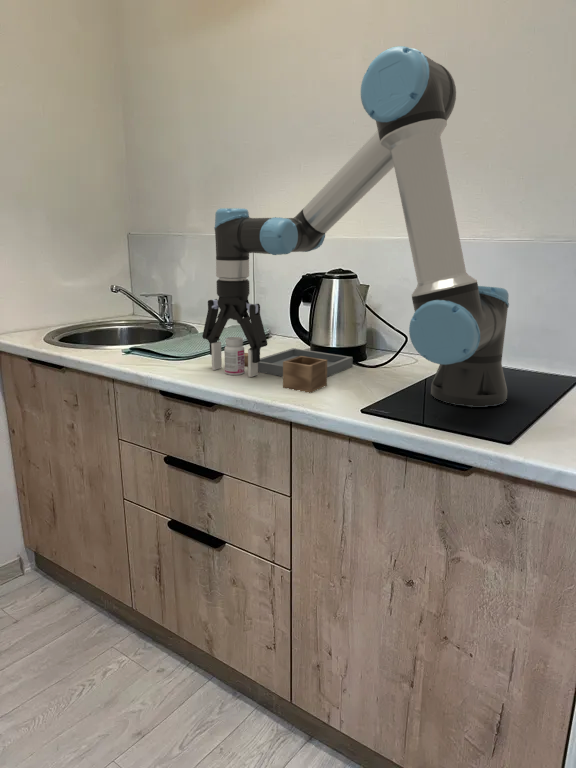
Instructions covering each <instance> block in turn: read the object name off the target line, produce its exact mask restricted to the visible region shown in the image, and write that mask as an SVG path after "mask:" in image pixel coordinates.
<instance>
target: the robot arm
mask: <svg viewBox="0 0 576 768" xmlns="http://www.w3.org/2000/svg"><path fill="white" fill-rule="evenodd" d="M456 100H457V89H456V83H455V80H454V78H453V76H452V74H451V72H450V71H449V70H448V69H447V68H446V67H445V66H443V64H440V63H438V62H436V61H435V60H433V59H431V58H430V57H428V56H427V55H425V54H424V53H423V52H421V51H420V50H419V49H417V48H414V47H413V48H412V47H408V46H403V45H398V46H393V47H390V48H388V49H385V50H384V51H382V52H380V53H379V54H378V55H377V56H376V57H375V58H374V59H373V60H372V61H371V62H370V64H369V66H368V67H367V70H366V72H365V73H364V74H363V77H362V81H361V84H360V101H361V104H362V106H363V109H364V110H365V113H367V115H368V116H369V118H371V119H372V120H374V121H375V124H376V128H377V130H376V132H374V133H373V134H372V136H371V137H370V138H369V139H367V141H366V142H365V143H363V145H362V146H361V147H360V148H359V149H358V150H357V151H356V152H355V154H354V155H352V157H351V158H350V159H348V161H347V162H346V163H345V164H344V165H343V166H342V167H341V168H340V169H339V170H338V171H337V172H336V174H334V175H333V177H331V178H330V180H329V181H328V182H327V183H326V184H325V185H324V186H323V187H322V189H320V190H319V191H318V192H317V193H316V194H315V195H314V197H312V198H311V200H309V202H308V203H307V204H306V205H304V207H303V208H302V209H301V210H300V211H299V212H298V214H296V215H295V216H294V217H276V216H275V217H250V213H249V210H248V209H247V208H241V207H238V208H237V207H236V208H235V207H233V208H228V207H227V208H225V207H224V208H221V207H219V208H217V210H216V211H215V214H214V215H215V218H214V227H213V228H214V237H215V270H216V271H215V272H216V273H215V276H216V277H217V278H218V279H217V280H216V295H217V296H218V299H217V298H215V299H213V298H212V299H208V301H207V314H206V318H205V322H204V327H203V332H202V335H201V336H202V339H203V340H206V341H207V342H208V343H209V355H210V356H211V370H212V371H215V370H219V369H221V368H223V367H222V366H223V364H222V363H223V361H222V341H220V340H221V339H220V337H221V335H222V333H223V331H224V329H225V328H226V325H227V323H228V321H229V320H230V319H231V320H233V321H236V322H237V324H238V325H239V326H240V327H241V329H242V332H243V333H244V336H245V338H246V340H247V342H248V345H249V347H250V348H248V349H247V353H248V367H247V368H248V369H247V377H248V378H252V377H255V376H258V375H259V372H258V362H260V358H261V348H263V347H267V346H268V339H267V336H266V332H265V328H264V323H263V321H262V317H261V305H260V304H259V303H250V302H249V295H250V280H249V279H247V278H249V277H250V254H264V255H272V256H278V255H279V256H282V255H288V254H291V253H300V252H301V253H306V252H307V253H308V252H312V251H315V250H317V249H318V248H320V247H322V245H323V244H324V241H325V238H326V233H328V231H330V229H332V228H333V227H334V225H336V224H337V223H338V221H340V220H341V219H342V218H343V217H344V216H345V215H346V214H347V213H348V212H349V211H350V210H351V209H352V208H353V207H354V206H355V205H356V204H357V203H358V202H359V201H360V200H361V199H362V198H364V196H366V195H367V193H369V192H370V191H371V190H372V189H373V188H374V187H375V186H376V185H377V184H378V183H379V182H380V181H381V180H382V179H383V178H385V176H386V175H387V174H388V173H389V172H390V171H391V170H392V169H393V168H394V172H395V173H394V174H395V177H396V178H395V179H396V182H397V187H398V192H399V197H400V202H401V208H402V211H403V216H404V217H403V218H404V221H405V227H406V231H407V236H408V242H409V248H410V252H411V257H412V262H413V266H414V271H415V276H416V277H415V278H416V282H417V285H416V287H415V289H414V291H413V292H412V293H411V300H412V306H413V310H414V313H413V316H412V317H411V319H410V322H409V328H408V329H409V331H408V332H409V333H408V334H409V338H410V342H411V344H412V345H413V348H414V349H415V351H416V352H417V353H418V354H419V355H420V356H422V357H423V358H424V359H426V360H427V361H428V362H431V363H433V364H437V365H438V367H437V370H436V372H435V376H434V378H433V380H432V382H431V385H430V395H431V394H432V395H433V396H434V397H435V398H437V399H440V400H442V401H446V402H449V403H455V404H464V405H473V406H485V405H494V404H499V403H502V402H504V401H506V402H507V400H506V399H508V388H507V382H506V379H505V374H504V369H503V365H502V364H503V363H502V360H503V353H504V352H503V351H504V344H505V336H506V335H505V333H506V326H507V317H508V309H509V306H510V303H509V292H508V290H507V289H505V288H503V287H495V286H486V285H478V280H477V279H475V277H472V276H471V275H469V274H468V273H467V268H466V265H465V258H464V254H463V249H462V248H463V247H462V243H461V238H460V233H459V228H458V223H457V218H456V213H455V207H454V203H453V198H452V197H453V196H452V192H451V191H452V190H451V186H450V182H449V176H448V171H447V165H446V160H445V156H444V155H445V154H444V149H443V144H442V140H441V136H442V133H443V132H444V130H445V129H446V128H447V125H448V120H449V118H450V117H451V115H452V113H453V111H454V108H455V104H456ZM219 310H220V311H219ZM435 398H434V399H435Z"/></svg>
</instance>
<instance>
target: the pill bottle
mask: <svg viewBox="0 0 576 768" xmlns="http://www.w3.org/2000/svg"><path fill="white" fill-rule="evenodd" d="M243 339H244V338H242V337H241V336H230V337H225V347H224V349H223V350H224V373H225V374H226V375H228V376H229V375H230V376H239V375H243V374H245V370H246V369H245V368H246V367H245V357H244V356H245V355H244V353H245V347H244V340H243Z"/></svg>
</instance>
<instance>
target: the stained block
mask: <svg viewBox="0 0 576 768" xmlns="http://www.w3.org/2000/svg"><path fill="white" fill-rule="evenodd" d="M244 355H245V356H244V357H245V368H246V367H247V368H248V352H244Z"/></svg>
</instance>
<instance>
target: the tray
mask: <svg viewBox="0 0 576 768" xmlns="http://www.w3.org/2000/svg"><path fill="white" fill-rule="evenodd" d="M298 356H306V357H312V358H318V359H324V360H327V378H328V377H331V376H333V375H335V374H338V373H341V372H343V371H345V370H347V369H350V368H352V367H353V363H354V362H353V361H354V359H353V356H347V355H342V354H335V353H328V352H322V351H314V350H307V349H301V348H294V347H293V348H292V347H291V348H289V349H286V350H285V349H284V350H283V351H279V352H276V353H273V354H270V355H267V356H264V357H260V362H258V373H262V374H268V375H274V376H279V377H283V362H284V361H287V360H290V359H293V358H295V357H298Z"/></svg>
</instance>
